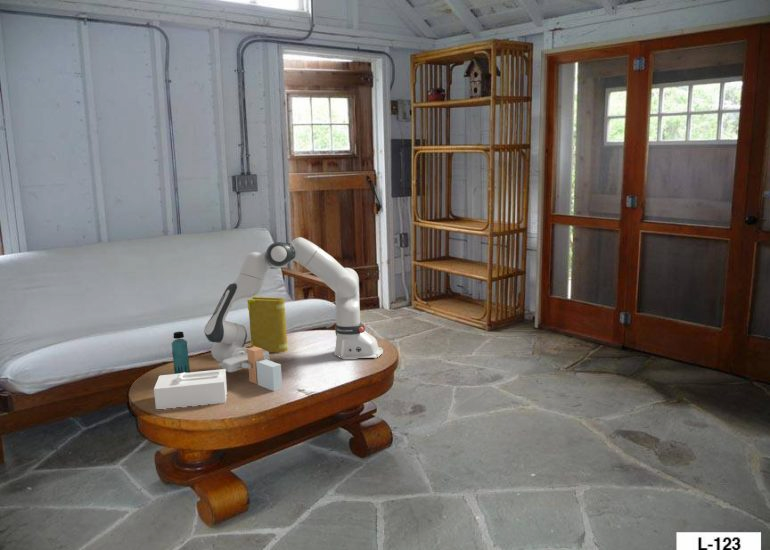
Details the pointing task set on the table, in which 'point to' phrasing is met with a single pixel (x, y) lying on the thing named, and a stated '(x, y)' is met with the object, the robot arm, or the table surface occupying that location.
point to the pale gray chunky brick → (269, 374)
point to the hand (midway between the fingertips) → (257, 364)
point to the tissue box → (191, 389)
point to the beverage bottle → (180, 354)
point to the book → (268, 323)
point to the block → (254, 361)
